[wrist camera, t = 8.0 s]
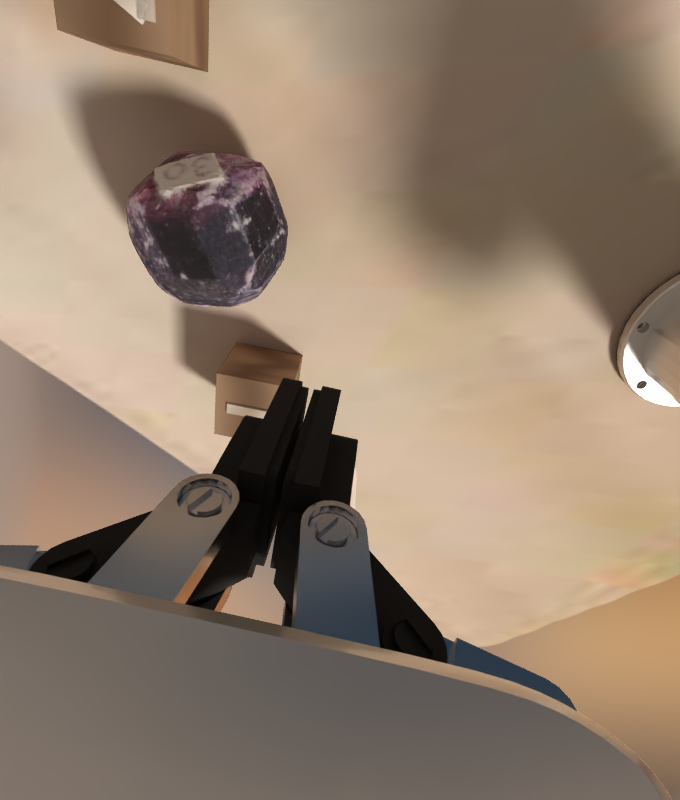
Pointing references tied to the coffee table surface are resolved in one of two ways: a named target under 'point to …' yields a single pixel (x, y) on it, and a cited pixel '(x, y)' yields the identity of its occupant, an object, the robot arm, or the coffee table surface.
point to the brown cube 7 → (142, 27)
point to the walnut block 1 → (250, 383)
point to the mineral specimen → (208, 228)
